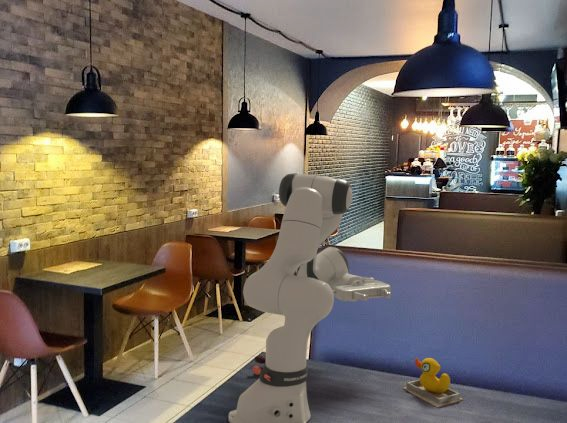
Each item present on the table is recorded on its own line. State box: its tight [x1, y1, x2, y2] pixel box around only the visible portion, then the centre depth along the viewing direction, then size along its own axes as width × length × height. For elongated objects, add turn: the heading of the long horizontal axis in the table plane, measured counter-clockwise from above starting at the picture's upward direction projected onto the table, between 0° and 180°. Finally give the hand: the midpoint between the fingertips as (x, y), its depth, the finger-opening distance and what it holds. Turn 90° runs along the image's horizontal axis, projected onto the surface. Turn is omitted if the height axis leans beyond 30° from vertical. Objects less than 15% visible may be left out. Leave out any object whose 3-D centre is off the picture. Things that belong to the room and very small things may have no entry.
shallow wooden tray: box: [402, 379, 464, 408], centre depth 169 cm, size 10×14×2 cm
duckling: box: [414, 357, 451, 393], centre depth 170 cm, size 11×5×10 cm, turn 48°
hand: (377, 296), depth 180 cm, fingers open, 8 cm apart
